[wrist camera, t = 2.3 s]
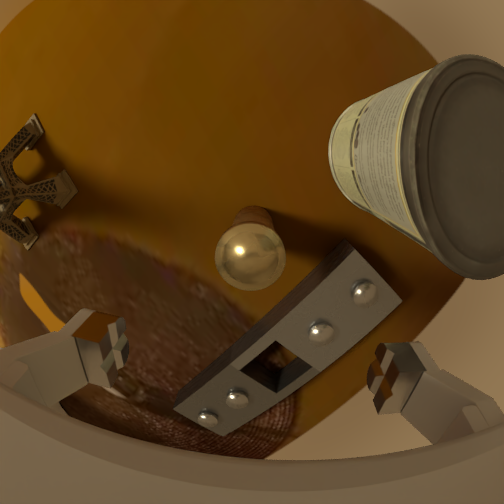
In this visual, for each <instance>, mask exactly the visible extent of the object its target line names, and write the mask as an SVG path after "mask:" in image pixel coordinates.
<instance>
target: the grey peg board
mask: <svg viewBox="0 0 504 504" xmlns="http://www.w3.org/2000/svg"><path fill="white" fill-rule="evenodd" d="M401 302H402V300H401V299H400V297H399V296H398V295H397V294H396V293H395V291H394V290H393V289H392V288H391V287H390V286H389V285H388V284H387V282H386V281H385V280H384V279H383V278H382V277H381V276H380V275H379V274H378V273H377V272H376V270H375V269H374V268H373V267H372V266H371V265H370V264H369V263H368V262H367V261H366V260H365V259H364V258H363V257H362V256H361V255H360V253H359V252H358V251H357V250H356V249H355V248H354V247H353V246H352V245H351V244H350V243H349V242H348V241H347V240H346V239H345V238H344V239H343V240H342V241H341V242H340V243H339V244H338V246H337V247H336V248H335V249H334V250H333V251H332V252H331V253H330V254H329V255H328V256H327V257H326V258H325V259H324V260H323V261H322V262H321V263H320V264H319V265H318V266H317V267H316V268H315V269H313V270H312V271H311V272H310V273H309V274H308V275H307V276H306V277H305V278H304V279H303V280H302V281H301V282H300V283H299V284H298V285H297V286H296V287H295V288H294V289H293V290H292V291H291V292H290V293H289V294H288V295H287V296H285V297H284V298H283V299H282V300H281V301H280V302H279V303H278V304H277V305H276V306H275V307H274V308H273V309H272V310H271V311H270V312H268V313H267V314H266V315H265V316H264V317H263V318H262V319H261V320H260V321H259V322H258V323H256V324H255V325H254V326H253V327H252V328H251V329H250V330H249V331H248V332H247V333H245V334H244V335H243V336H242V337H241V338H240V339H239V340H238V341H236V342H235V343H234V344H233V345H232V346H231V347H230V348H229V349H227V350H226V351H225V352H224V353H223V354H222V355H221V356H219V357H218V358H217V359H216V360H215V361H214V362H212V363H211V364H210V365H209V366H208V367H207V368H205V369H204V370H203V371H202V372H201V373H200V374H198V375H197V376H196V377H195V378H194V379H192V380H191V381H190V382H189V383H188V384H186V385H185V386H184V387H183V388H182V389H180V390H179V391H178V394H177V398H176V401H175V404H174V407H173V410H175V411H177V412H178V413H180V414H182V415H184V416H185V417H187V418H189V419H191V420H192V421H194V422H196V423H198V424H200V425H202V426H203V427H205V428H207V429H209V430H211V431H213V432H215V433H217V434H219V435H221V436H225V435H226V434H228V433H230V432H232V431H233V430H235V429H237V428H238V427H240V426H242V425H243V424H245V423H247V422H248V421H250V420H252V419H253V418H255V417H256V416H258V415H260V414H261V413H263V412H264V411H266V410H267V409H269V408H270V407H272V406H273V405H275V404H276V403H278V402H279V401H281V400H282V399H284V398H285V397H287V396H288V395H290V394H291V393H292V392H294V391H295V390H297V389H298V388H299V387H301V386H302V385H304V384H305V383H306V382H308V381H309V380H310V379H312V378H313V377H314V376H316V375H317V374H318V373H320V372H321V371H322V370H324V369H325V368H326V367H328V366H329V365H330V364H331V363H333V362H334V361H335V360H336V359H338V358H339V357H340V356H341V355H343V354H344V353H345V352H346V351H347V350H349V349H350V348H351V347H352V346H353V345H355V344H356V343H357V342H358V341H359V340H361V339H362V338H363V337H364V336H365V335H366V334H367V333H369V332H370V331H371V330H372V329H373V328H374V327H375V326H376V325H378V324H379V323H380V322H381V321H382V320H383V319H384V318H385V317H386V316H387V315H388V314H389V313H390V312H392V311H393V310H394V309H395V308H396V307H397V306H398V305H399V304H400V303H401ZM275 340H276V341H277V342H279V343H280V344H281V345H283V346H284V347H286V348H287V349H288V350H290V351H291V352H293V353H294V354H295V355H297V356H298V357H297V358H295V359H294V360H293V361H292V362H290V363H289V364H288V365H286V366H285V367H284V368H283V369H281V370H280V371H279V372H277V373H276V374H275V373H273V372H272V371H270V370H269V369H267V368H266V367H264V366H263V365H261V364H260V363H258V362H257V361H255V360H254V358H255V357H256V356H257V355H259V354H260V353H261V352H262V351H263V350H265V349H266V348H267V347H268V346H269V345H271V344H272V343H273V342H274V341H275Z"/></svg>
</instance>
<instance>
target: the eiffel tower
mask: <svg viewBox="0 0 504 504" xmlns="http://www.w3.org/2000/svg"><path fill="white" fill-rule="evenodd" d="M43 133H44V130H43V128H42V126H41V124H40V122H39V120H38V118H37V116H36V114H33V115H32V116H31V118H30V119H29V120H28V122H27V123H26V124H25V126H24V127H23V128H22V129H21V130H20V131H19V132H18V133H17V134H16V135H15V136H14V137H13V138H12V139H11V140H10V142H9V143H8V144H7V145H6V146H5V147H4V149H3V150H2V151H1V152H0V229H1V230H2V231H3V232H5V233H6V234H7V235H9V236H10V237H12V238H13V239H15V240H16V241H18V242H19V243H23V244H24V246H25V247H26V249H27V250H29V248H30V247H31V246H32V245H33V243H34V242H35V241H36V239H37V238H38V237H39V236H38V234H37V232H36V231H35V229H34V227H33V226H32V224H31V222H30V221H29V219H28V217H24V218H23V220H20V219H19V218H17V217H16V216H14V215H13V213H14V211H15V210H16V209H17V208H18V207H19V206H20V204H21V203H22V202H23V201H24V200H26V199H31V200H36V201H41V202H46V203H51V204H56V205H57V206H60V208H61V209H63V208H64V206H65V205H66V204H67V203H68V202H69V201H70V200H71V199H72V198H73V197H74V196H75V195H76V194H77V192H78V190H77V188H76V187H75V185H74V183H73V182H72V180H71V178H70V177H69V175H68V173H67V172H66V170H65V169H64V170H63V171H62V172H61V173H59V174H58V175H57V176H56V177H53V178H50V179H46V180H43V181H40V182H36V183H33V184H30V185H26V184H24V183H23V182H22V181H21V180H20V179H19V178H18V177H17V175H16V174H15V172H14V169H13V165H12V164H13V161H14V160H15V158H16V157H17V156H18V155H19V154H20V153H21V152H22V151H23V150H24V149H25V148H26V150H31V148H32V147H33V146H34V144H35V143H36V142H37V140H38V139H39V138H40V137H41V135H42V134H43ZM3 189H4V190H3Z"/></svg>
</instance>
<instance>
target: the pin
mask: <svg viewBox="0 0 504 504" xmlns="http://www.w3.org/2000/svg"><path fill="white" fill-rule="evenodd" d="M215 262H216V266H217V269H218V271H219V273H220V275H221V276H222V277H223V279H224V280H225V281H226V282H228V283H229V284H230V285H232V286H234V287H236V288H239V289H242V290H249V291H253V290H260V289H263V288H266V287H268V286H270V285H271V284H273V283H274V282H275V281H276V280H277V279H278V278H279V277H280V275H281V274H282V272H283V269H284V266H285V262H286V254H285V249H284V245H283V242H282V240H281V238H280V236H279V235H278V233H277V232H276V231H275V230H274V226H273V220H272V217H271V215H270V214H269V212H268V211H266V210H265V209H264V208H262V207H259V206H248V207H245V208H243V209H242V210H240V211H239V213H238V214H237V215H236V217H235V220H234V223H233V225H232V226H231V227H230V228H228V229H227V230H226V231H225V232H224V234H223V235H222V236H221V238H220V240H219V242H218V245H217V247H216V251H215Z"/></svg>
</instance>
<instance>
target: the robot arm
mask: <svg viewBox="0 0 504 504" xmlns="http://www.w3.org/2000/svg"><path fill="white" fill-rule="evenodd" d="M125 330H126V324H125V320H124V319H123V318H122V317H120V316H115V315H111V314H107V313H102V312H98V311H94V310H89V309H81V310H80V311H79V312H78V313H77V314H76V315H75V316H74V317H73V318H72V319H71V320H70V321H69V322H68V323H67V324H66V325H65V326H64V327H63V328H62V329H61V330H60V331H59V332H55V331H54V332H51V333H48V334H45V335H42V336H39V337H36V338H33V339H30V340H27V341H24V342H21V343H18V344H15V345H12V346H9V347H6V348H0V504H504V414H503V413H502V411H501V410H500V408H499V407H498V405H497V404H496V402H495V401H494V399H493V398H492V397H490V396H488V395H486V394H485V393H483V392H481V391H479V390H478V389H476V388H474V387H473V386H471V385H469V384H467V383H466V382H464V381H462V380H461V379H459V378H457V377H455V376H454V375H452V374H450V373H449V372H447V371H445V370H440V369H439V368H438V366H437V365H436V363H435V362H434V360H433V359H432V357H431V356H430V354H429V353H428V351H427V350H426V348H425V347H424V346H423V344H422V343H421V342H418V341H417V342H406V343H380V344H379V345H378V346H377V349H376V351H375V355H376V358H377V359H375V360H374V361H373V362H372V363H371V364H370V367H369V369H368V373H367V385H368V388H369V390H370V391H371V392H372V393H373V394H375V397H374V399H373V402H374V405H375V407H376V410H377V413H378V414H392V413H401V415H402V416H403V417H404V418H405V419H406V420H407V421H408V422H410V423H411V424H412V425H413V426H414V427H415V428H416V429H417V430H418V431H419V432H420V433H421V434H422V435H424V436H425V437H426V438H427V439H428V440H429V441H430V442H431V443H432V444H433V445H429V446H425V447H420V448H415V449H411V450H405V451H400V452H394V453H388V454H382V455H374V456H366V457H357V458H345V459H333V460H332V459H331V460H297V461H296V460H293V461H292V460H264V459H249V458H238V457H228V456H220V455H213V454H206V453H199V452H193V451H188V450H182V449H177V448H172V447H168V446H163V445H159V444H154V443H150V442H146V441H142V440H139V439H135V438H131V437H128V436H124V435H121V434H118V433H115V432H111V431H108V430H105V429H102V428H99V427H97V426H94V425H91V424H88V423H85V422H83V421H80V420H78V419H75V418H73V417H70V416H68V414H67V413H66V412H65V411H64V409H63V408H62V407H61V405H60V404H59V401H60V400H62V399H64V398H65V397H67V396H69V395H70V394H72V393H73V392H75V391H77V390H78V389H80V388H82V387H83V386H85V385H87V384H88V382H89V383H92V384H96V385H99V386H103V387H107V388H111V387H112V385H113V384H114V382H115V380H116V379H117V377H118V371H117V369H119V368H121V367H123V366H124V365H125V363H126V361H127V358H128V354H129V343H128V339H127V338H126V337H125V335H124V334H123V333H124V331H125Z"/></svg>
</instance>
